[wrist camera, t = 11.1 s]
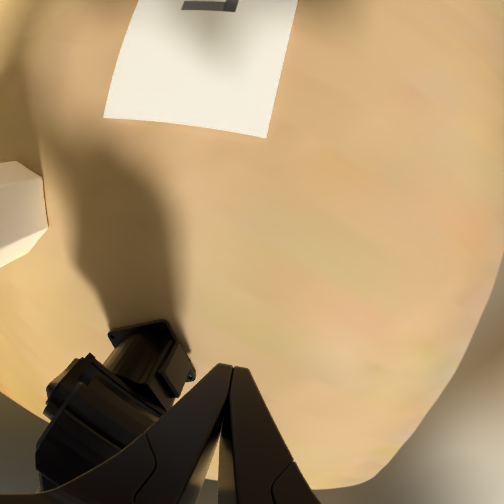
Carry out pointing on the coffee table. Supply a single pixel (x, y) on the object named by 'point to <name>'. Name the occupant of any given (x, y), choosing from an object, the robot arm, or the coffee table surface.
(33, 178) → the jar
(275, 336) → the coffee table surface
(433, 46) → the coffee table surface
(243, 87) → the letter mat
